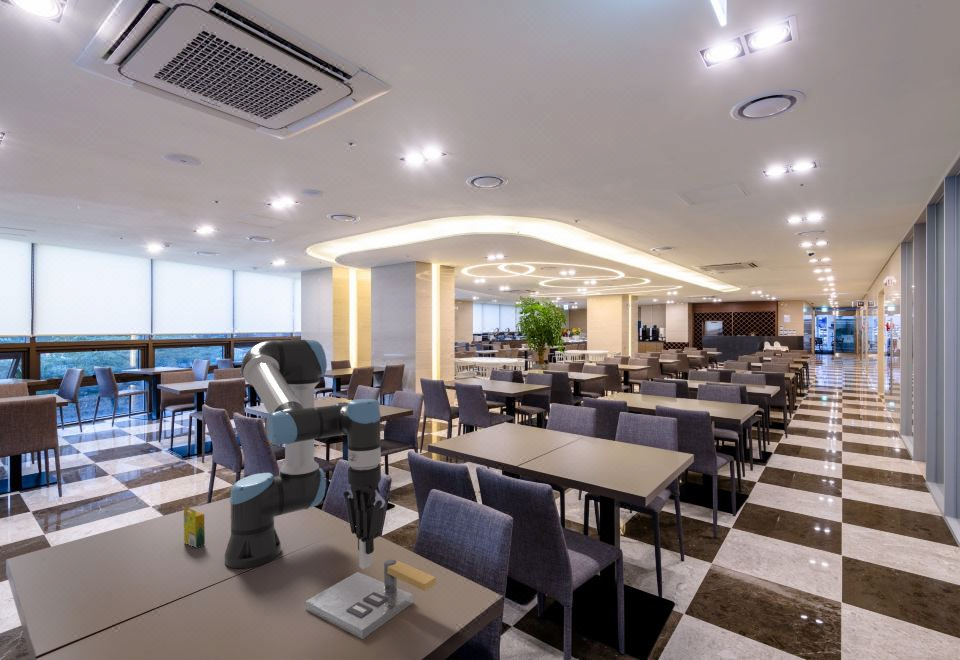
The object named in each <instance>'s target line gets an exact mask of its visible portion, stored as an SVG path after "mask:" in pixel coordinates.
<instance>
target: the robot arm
mask: <svg viewBox="0 0 960 660" xmlns="http://www.w3.org/2000/svg"><path fill="white" fill-rule="evenodd" d="M326 356H327V355H326V352H325V349H324V347H323V346H322V344H321V343H320V342H319V341H317V340H315V339H284V340H265V341H262V342H259V343H257V344H255V345H253V346H252V347H251V348H250V349H249V350H248V351H247V352H246V353H245V355H244V357H243V359H242V361H241V364H240V366H241V367H240V368H241V369H240V371H241V374H242V376H243V379H244V380H245V381H246V383H247V384H249V385H250V386H253V388H254V390H255V392H256V394H257V395H258V397H259V400H260V401H261V403H262V405H263V406H264V408H265V410H266V412H267V414H268V416H267V418H266V423H265V424H266V426H265V427H266V428H265V430H266V435H267V439H268V442H270V444H272V445H284V444H285V445H284V448H285V449H284V451H285V452H284V453H285V454H284V455H285V456H284V464H283V465H282V466H281V467H280V468H279V475H277V476H275V475H273V473H271V472H263V473H261V472H260V473H254V474H250V475H249V476H245V477H243V478H241V479H239V480H238V481H236V482H235V483H234V484H233V485H232V486H231V488H230V498H229V504H230V537H229V540H228V541H227V542H228V543H227V546H226V549H225V552H224V565H226V566H227V567H228V568H232V569H248V568H254V567H257V566H261V565H264V564H266V563H269V562H270V561H273V560H274V559H276V558H277V557H278V556H279V555H280V553H281V551H282V550H281V549H282V548H281V547H282V545H281V544H282V543H281V541H280V538H279V536H278V532H277V530H276V527H275V517H278V516H282V515H286V514H290V513H294V512H299V511H303V510H308V509H310V508H312V507H313V508H314V507H316V506H318V505H319V504H320V503H321V502H323V499H324V497H325V493H326V485H327V484H326V481H327V480H326V479H325V478H326V476H325V472H324V470H323V469H322V468H320V466H319V463H318V462H316V461H315V439H316V440H318V439H324V438H330V437H331V438H332V437H336V436H347V465H348V466H349V467H348V469H347V480H348V485H350V489H348V490H346V491H344V492H343V496H344V500H345V502H346V507H347V513H348V521H349V527H350V532H351V533H352V535H354V534H355V535H356V538H357V549H358V552H359V553H358V555H359V559H358V560H359V568H361V569H362V570H366V568H368V567H370V566H372V565H373V563H374V561H373V559H374V557H373V554H374V551H375V550H374V549H375V545H374V542H375V541H374V540H375V539H377V538H379V537H380V536H381V535H382V534H381V533H382V527H383V526H382V525H383V520H384V514H385V508H386V506H387V504H388V502H389V500H388V498H387V497H382V495H381V494H380V493H381V491H380V487H379V484H380V481H381V480H382V466H381V465H380V464H381V462H382V455H381V453H382V452H381V416H382V415H381V412H380V410H381V407H380V403H379V401H378V399H375V398H358V399H357V398H356V399H352V400H350V401H348V402H344V401H343V402H342V401H341V402H335V403H333V404H332V405H326V406H324V405H323V406H315V389H316V387H317V385H318V384H319V383H320V381H321V380H320V379H321V378H320V377H323V376H324V375H325V374H326V372H327V366H328V364H327V363H328V362H327V357H326Z"/></svg>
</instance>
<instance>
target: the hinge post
mask: <svg viewBox="0 0 960 660" xmlns="http://www.w3.org/2000/svg"><path fill="white" fill-rule="evenodd" d="M383 573H384V575H383V577H384V584H385V592H386V593H394V592H395V591H396V590H397V588H398V584H397V583H398V582H397V579H398V578H396V577H394V576H392V575H390V574H388V573H387V572H386V571H383Z"/></svg>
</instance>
